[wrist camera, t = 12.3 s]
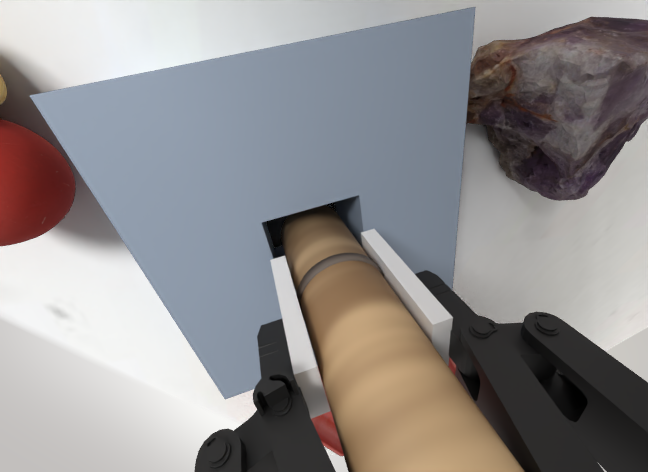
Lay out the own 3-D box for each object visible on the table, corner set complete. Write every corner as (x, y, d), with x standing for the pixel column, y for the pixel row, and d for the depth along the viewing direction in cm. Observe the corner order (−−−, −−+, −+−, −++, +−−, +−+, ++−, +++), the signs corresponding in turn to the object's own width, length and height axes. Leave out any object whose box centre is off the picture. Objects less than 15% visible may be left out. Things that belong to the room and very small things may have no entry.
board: (94, 86, 15) (29, 95, 10) (407, 23, 18) (475, 6, 13) (226, 335, 26) (225, 399, 21) (411, 274, 29) (449, 318, 24)
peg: (271, 213, 17) (544, 1196, 2) (338, 194, 18) (916, 874, 3) (287, 268, 20) (482, 949, 4) (347, 250, 20) (696, 796, 5)
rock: (476, 183, 27) (572, 98, 25) (565, 238, 21) (703, 129, 19) (424, 84, 20) (555, -50, 17) (539, 122, 13) (765, -82, 11)
